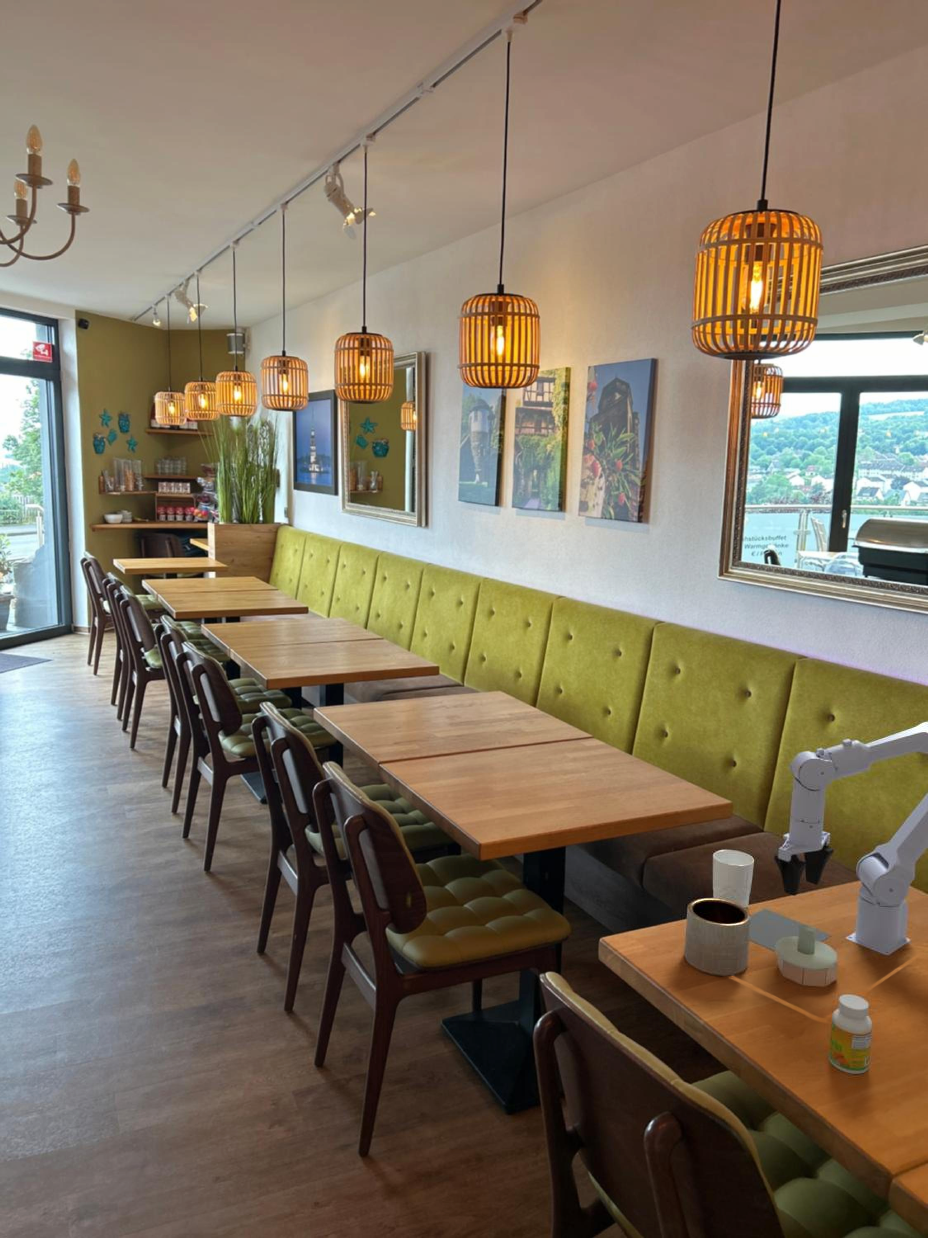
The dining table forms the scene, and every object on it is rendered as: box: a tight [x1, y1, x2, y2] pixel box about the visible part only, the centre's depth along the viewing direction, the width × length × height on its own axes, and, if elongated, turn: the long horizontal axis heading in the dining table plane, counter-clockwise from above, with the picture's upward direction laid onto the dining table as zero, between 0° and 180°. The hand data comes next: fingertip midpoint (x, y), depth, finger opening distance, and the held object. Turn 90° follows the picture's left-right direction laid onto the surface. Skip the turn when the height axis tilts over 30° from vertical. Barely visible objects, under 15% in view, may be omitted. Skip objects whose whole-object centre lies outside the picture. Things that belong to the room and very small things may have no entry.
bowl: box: [776, 956, 839, 987], centre depth 156 cm, size 9×9×4 cm
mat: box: [749, 908, 833, 952], centre depth 170 cm, size 14×14×1 cm
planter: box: [684, 897, 751, 977], centre depth 160 cm, size 11×11×10 cm
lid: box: [774, 924, 838, 970], centre depth 156 cm, size 10×10×5 cm
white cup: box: [712, 849, 755, 909], centre depth 182 cm, size 8×8×10 cm
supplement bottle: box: [828, 993, 873, 1075], centre depth 131 cm, size 5×5×10 cm
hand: (801, 888), depth 168 cm, fingers open, 7 cm apart
